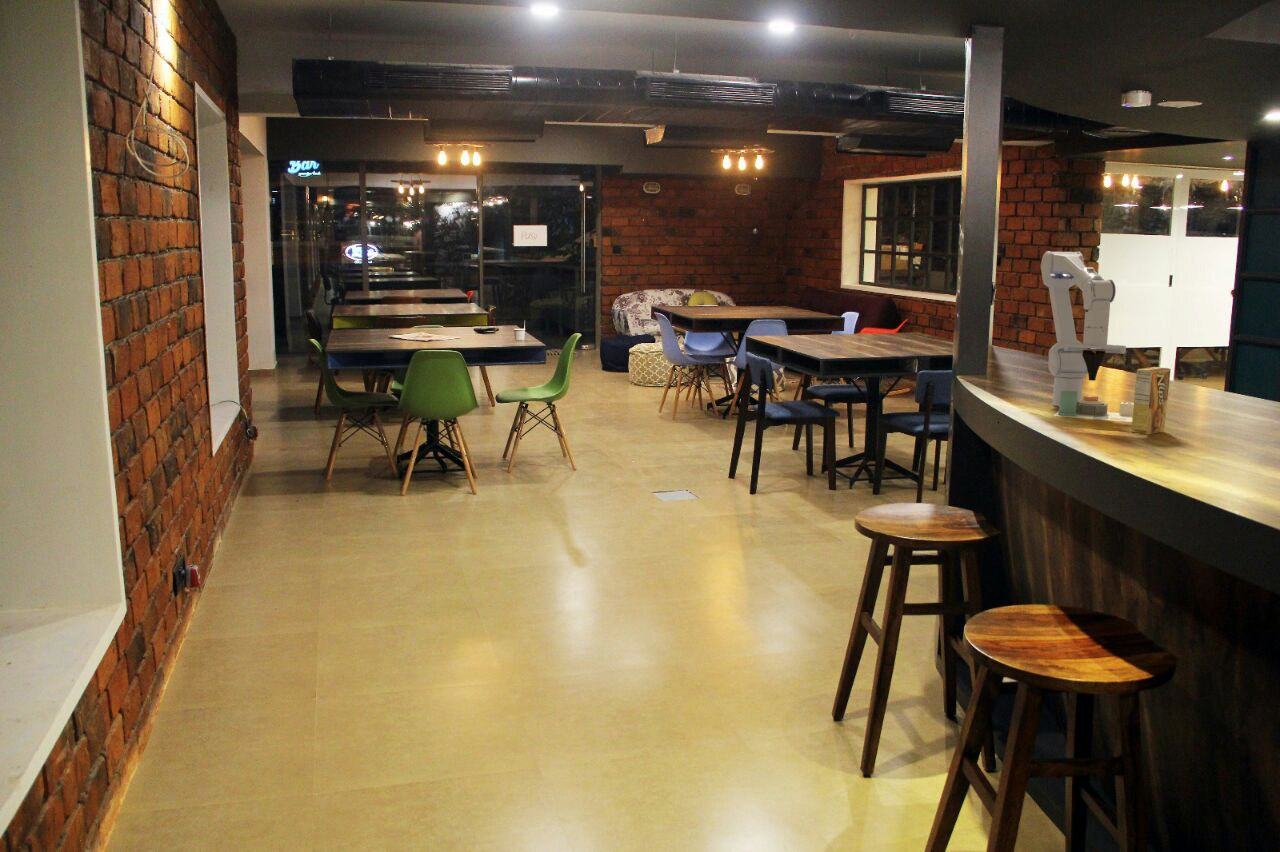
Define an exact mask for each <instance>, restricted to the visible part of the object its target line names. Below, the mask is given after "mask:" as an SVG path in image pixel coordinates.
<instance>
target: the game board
mask: <svg viewBox="0 0 1280 852" xmlns="http://www.w3.org/2000/svg"><path fill="white" fill-rule="evenodd" d="M1108 406H1109V405H1108V403H1103V402H1102V405H1100V406H1092V405H1081V404H1079V402H1077V404H1076V413H1077V415H1076V416H1062V415H1058V412H1059V410H1058V411H1056V412H1055V413H1054V414H1053V415H1052V417H1063V418H1064V417H1065V418H1075V419H1087V420H1102V421H1115V422H1126V423H1132V418H1133V407H1134V402H1127V401H1126V402H1125V401H1121V402H1120V404H1119V412H1111V411H1110V412H1109V411H1108Z"/></svg>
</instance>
